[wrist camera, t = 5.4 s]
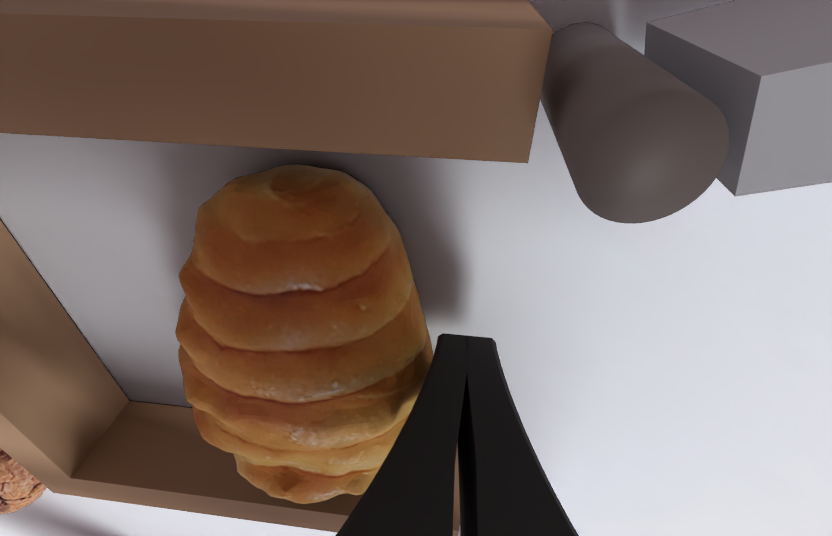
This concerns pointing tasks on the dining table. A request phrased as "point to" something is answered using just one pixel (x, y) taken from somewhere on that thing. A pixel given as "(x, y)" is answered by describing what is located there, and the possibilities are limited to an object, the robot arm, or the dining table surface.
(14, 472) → the cookie
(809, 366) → the dining table surface
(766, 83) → the grey flat bar
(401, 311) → the pastry
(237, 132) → the frame
